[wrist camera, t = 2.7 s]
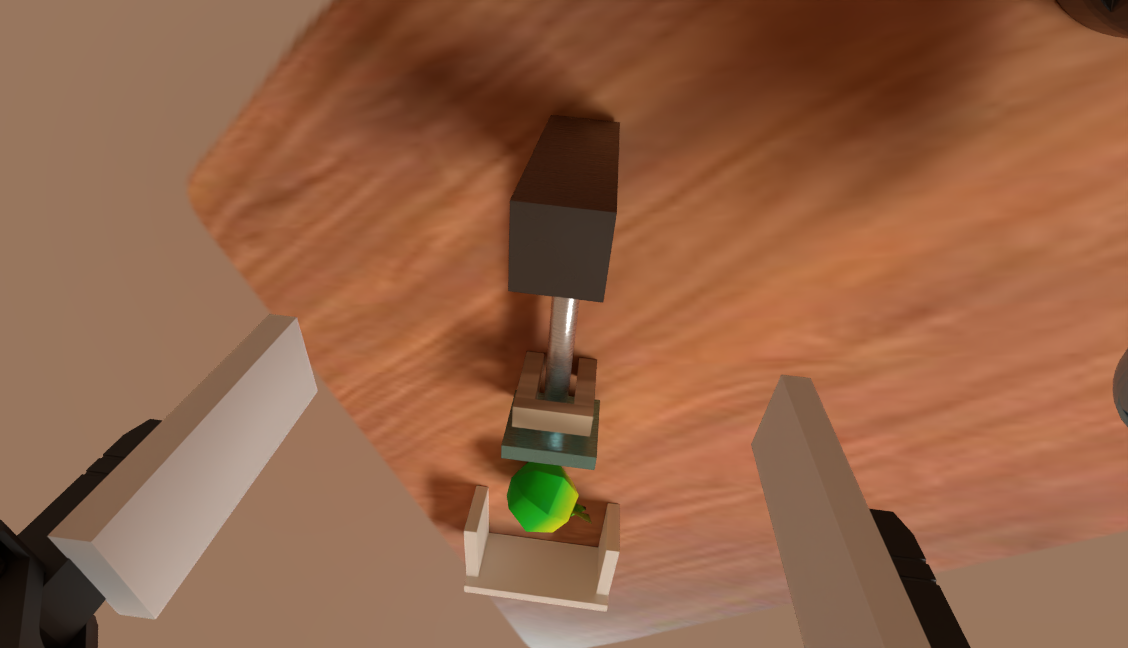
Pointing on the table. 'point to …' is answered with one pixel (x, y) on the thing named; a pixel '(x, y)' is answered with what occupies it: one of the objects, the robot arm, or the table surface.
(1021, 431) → the table surface
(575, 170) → the piston
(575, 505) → the apple
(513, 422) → the bearing block
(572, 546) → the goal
